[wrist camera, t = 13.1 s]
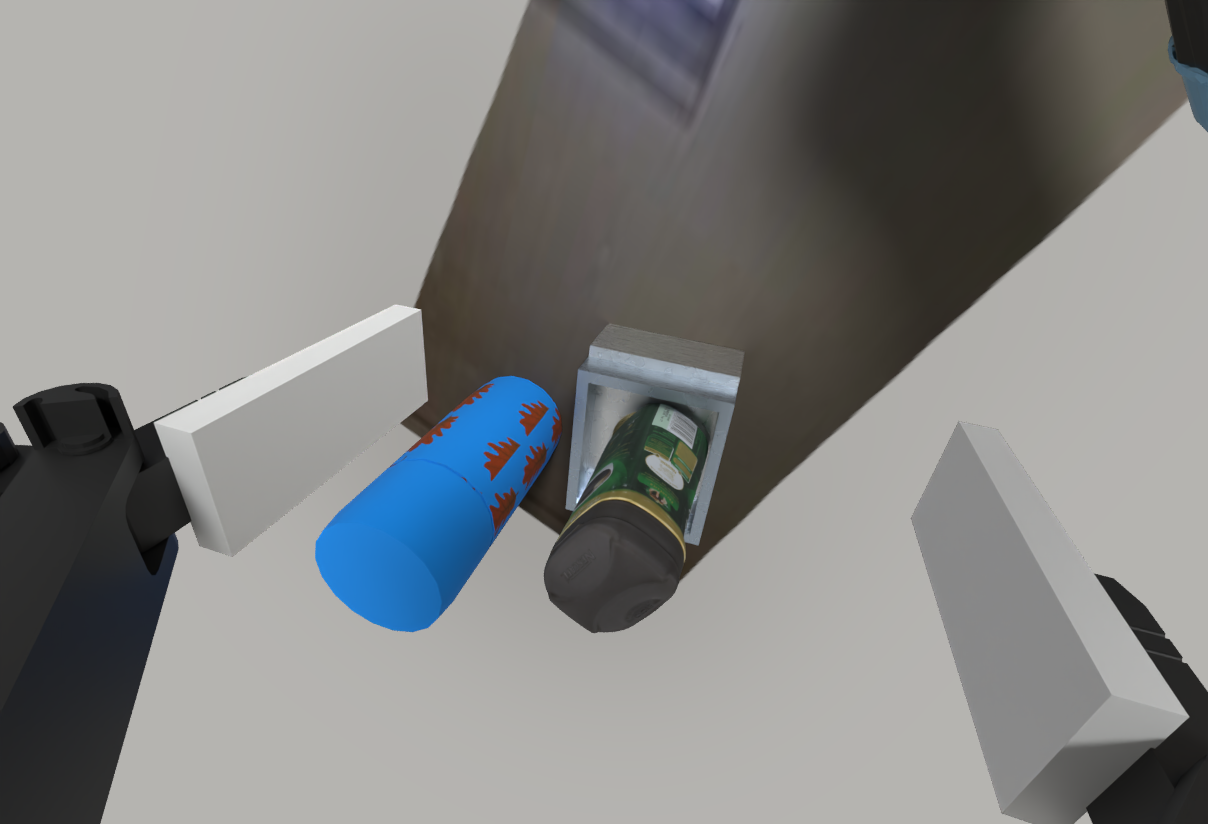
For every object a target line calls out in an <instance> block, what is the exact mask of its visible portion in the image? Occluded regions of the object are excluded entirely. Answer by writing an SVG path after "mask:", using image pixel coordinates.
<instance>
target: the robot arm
mask: <svg viewBox="0 0 1208 824" xmlns="http://www.w3.org/2000/svg"><path fill="white" fill-rule="evenodd" d="M1165 5H1166V9H1167V14H1168V18H1169V23H1170V27H1171V32H1172V36H1171V38H1170V40H1169V45H1168V53H1169V59H1170V61H1171V63H1173V64H1174V66H1175V69H1176V71H1177V72H1178V73H1180V74H1181V75H1182V78H1183V82H1184V85H1185V89H1186V92H1187V96H1188V99H1189V102H1190V106H1191V109H1192V112H1193V115H1194V117H1195V119H1196V121H1197V122H1198V123H1200V125H1202V127H1203V128H1204V129H1205V130H1206V131H1207V132H1208V0H1165ZM427 401H428V396H427V382H426V369H425V356H424V342H423V329H422V316H421V310H420V309H415V308H410V307H406V306H401V305H393V306H391V307H389V308H387V309H385V310H383V311H381V312H379V313H377V314H375V315H373V316H371V317H369V318H367V319H365V320H363V321H361V322H359V323H357V324H354V325H352V326H350V327H348V328H346V329H344V330H343V331H340V332H338V333H336V334H334V335H332V336H330V337H328V338H326V339H324V340H322V341H320V342H318V343H316V344H314V345H312V346H309V347H308V348H305V349H303V350H301V351H299V352H297V353H295V354H293V355H291V356H289V357H287V358H285V359H283V360H281V361H279V362H277V363H275V364H273V365H271V366H269V367H266V368H264V369H262V370H260V371H258V372H256V373H254V374H252V375H250V376H248V377H244V378H241V379H239V380H237V381H234V382H233V383H230V384H228V385H226V386H224V387H222V388H220V389H219V391H217V392H216V391H214V392H212V393H210V394H208V395H206V396H204V397H202V398H201V400H199V401H198V400H195V401H193V402H191V403H189V404H187V405H185V406H183V407H181V408H179V409H177V410H175V411H173V412H171V413H169V414H167V415H165V416H162V417H160V418H158V419H156V420H154V421H152V422H150V423H148V424H146V425H144V426H142V427H140V428H138V429H136V430H134V429H133V426H132V424H131V421H130V419H129V416H128V414H127V411H126V409H125V406H124V404H123V401H122V399H121V396H120V393H119V391H118V390H117V389H115V388H114V387H113V386H111V385H106V384H101V383H79V384H72V385H65V386H59V387H55V388H52V389H48V390H44V391H41V392H38V393H36V394H34V395H31V396H29V397H26V398H24V399H22V400H21V401H20V402H18V403H17V404H15V405H14V406H13V409H14V410H15V413H16V415H17V417H18V418H19V420H20V422H21V424H22V426H23V428H24V430H25V432H26V434H27V436H28V438H29V440H30V442H31V444H32V446H28V445H15V444H14V443H13V441H12V439H11V437H10V435H9V433H8V431H7V429H6V428H5V426H4V424H3V423H1V422H0V824H100V823H101V819H102V816H103V812H104V809H105V805H106V801H107V798H108V795H109V791H110V788H111V784H112V781H113V777H114V774H115V770H116V767H117V763H118V760H119V755H120V753H121V749H122V746H123V742H124V738H125V735H126V731H127V728H128V724H129V721H130V717H131V714H132V710H133V707H134V703H135V700H136V696H137V693H138V689H139V686H140V682H141V679H142V675H143V672H144V668H145V665H146V661H147V658H148V654H149V651H150V647H151V644H152V640H153V636H154V633H155V630H156V626H157V623H158V619H159V616H160V612H161V609H162V605H163V602H164V598H165V595H166V591H167V588H168V584H169V580H170V577H171V574H172V570H173V567H174V563H175V560H176V556H177V553H178V540H177V537H176V535H175V532H176V531H178V530H179V529H180V528H182V527H183V526H185V525H186V524H188V523H189V522H191V524H192V527H193V530H194V532H195V535H196V538H197V540H198V543H199V546H202V547H204V548H208V549H210V550H213V551H216V552H219V553H222V554H225V555H228V556H231V557H233V556H234V555H236V554H237V553H238V552H239V551H241V550H242V549H243V548H244V547H245V546H247V545H248V544H249V543H250V542H252V541H253V540H254V539H255V538H257V537H258V536H259V535H260V534H262V533H263V532H264V531H265V530H267V529H268V528H269V527H270V526H272V525H273V524H274V523H275V522H277V521H278V520H279V519H280V518H282V517H283V516H284V515H285V514H287V513H288V512H289V511H290V510H291V509H293V508H294V507H295V506H297V505H298V504H299V503H300V502H302V501H303V500H304V499H305V498H307V497H308V496H309V495H310V494H312V493H313V492H314V491H315V490H317V489H318V488H319V487H320V486H322V485H323V484H324V483H325V482H327V481H328V480H329V479H330V478H332V477H333V476H334V475H335V474H337V473H338V472H339V471H340V470H342V469H343V468H344V467H345V466H346V465H348V464H349V463H350V462H352V461H353V460H354V459H355V458H356V457H358V456H359V455H360V454H362V453H363V452H364V451H365V450H367V449H368V448H369V447H370V446H371V445H373V444H374V443H375V442H377V441H378V440H379V439H380V438H382V437H383V436H384V435H385V434H387V433H388V432H389V431H390V430H392V429H393V428H394V427H395V426H396V425H398V424H399V423H400V422H402V421H403V420H404V419H405V418H407V417H408V416H409V415H410V414H412V413H413V412H414V411H415V410H417V409H418V408H419V407H420V406H422V405H423V404H424V403H425V402H427ZM911 519H912V523H913V526H914V529H915V533H916V536H917V539H918V543H919V546H920V549H921V552H922V556H923V558H924V562H925V565H926V569H927V572H928V575H929V578H930V582H931V585H932V588H933V591H934V594H935V598H936V601H937V604H938V607H939V611H940V614H941V617H942V620H943V624H944V627H945V630H946V633H947V637H948V640H949V643H950V647H951V650H952V653H953V656H954V660H955V663H956V666H957V670H958V673H959V676H960V679H961V683H962V686H963V689H964V693H965V696H966V699H967V702H968V705H969V709H970V712H971V715H972V718H973V722H974V725H975V728H976V732H977V735H978V738H979V741H980V745H981V748H982V751H983V754H984V758H985V761H986V764H987V767H988V770H989V774H990V777H991V781H992V784H993V787H994V790H995V794H996V797H997V800H998V803H999V807H1000V810H1001V813H1002V814H1006V815H1008V816H1011V817H1014V818H1017V819H1020V820H1023V821H1026V822H1029V823H1032V824H1074V823H1075V822H1076V821H1077V820H1078V819H1079V818H1080V817H1081V816H1082V815H1084V814H1085V813H1086V812H1087V811H1088V814H1089V816H1090V818H1091V821H1092V823H1093V824H1208V692H1207V690H1206V689H1205V688H1204V686H1203V685H1202V683H1201V682H1200V681H1199V679H1198V678H1197V677H1196V675H1195V674H1194V672H1193V671H1192V670H1191V668H1190V667H1189V666H1188V664H1187V663H1183V662H1182V656H1181V655H1180V653H1179V652H1178V650H1177V649H1176V648H1175V646H1174V645H1173V643H1172V642H1171V641H1170V639H1166V638H1165V633H1164V631H1163V630H1162V628H1161V627H1160V626H1159V624H1158V623H1157V621H1156V620H1155V619H1154V617H1153V616H1152V615H1151V613H1150V612H1149V610H1148V609H1147V608H1146V606H1145V605H1144V604H1143V603H1141V602H1140V601H1139V600H1138V599H1137V598H1136V597H1134V596H1133V595H1132V594H1131V593H1130V592H1129V591H1127V590H1126V589H1125V588H1124V587H1123V586H1121V584H1119V583H1118V582H1117V581H1116V580H1115V579H1113V578H1109V577H1106V576H1102V575H1098V574H1094V573H1093V572H1092V570H1091V569H1090V567H1089V566H1088V564H1087V563H1086V561H1085V560H1084V558H1083V557H1082V555H1081V554H1080V552H1079V551H1078V549H1077V548H1076V546H1075V545H1074V543H1073V542H1072V540H1071V539H1070V537H1069V536H1068V534H1067V533H1066V531H1065V530H1064V528H1063V527H1062V525H1061V524H1060V522H1059V521H1058V519H1057V518H1056V516H1055V515H1054V513H1053V512H1052V510H1051V509H1050V507H1049V506H1048V504H1047V503H1046V501H1045V500H1044V498H1043V497H1042V495H1041V494H1040V492H1039V491H1038V489H1037V488H1036V486H1035V485H1034V483H1033V482H1032V480H1031V479H1030V477H1029V476H1028V474H1027V473H1026V471H1025V470H1024V468H1023V467H1022V465H1021V464H1020V462H1019V461H1018V459H1017V458H1016V456H1015V455H1014V453H1013V452H1012V450H1011V449H1010V447H1009V446H1008V444H1007V443H1006V441H1005V440H1004V438H1003V437H1002V435H1001V434H1000V432H999V431H998V430H997V429H994V428H989V427H984V426H980V425H975V424H970V423H965V422H960V421H959V422H958V424H957V426H956V428H955V430H954V432H953V434H952V436H951V438H950V440H949V442H948V444H947V446H946V448H945V450H944V453H943V454H942V456H941V458H940V460H939V463H938V465H937V467H936V469H935V471H934V473H933V475H932V477H931V479H930V481H929V483H928V485H927V487H926V489H925V491H924V493H923V495H922V497H921V499H920V501H919V503H918V505H917V507H916V509H915V511H914V513H913V515H912V517H911Z"/></svg>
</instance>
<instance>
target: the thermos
mask: <svg viewBox="0 0 1208 824" xmlns="http://www.w3.org/2000/svg"><path fill="white" fill-rule="evenodd" d="M561 433H562V423H561V415H560V413H559V411H558V409H557V407H556V404H555V402H554V401H553V400H552V399H551V397H550V396H549V395H548V394H547V393H546V392H545V391H544V390H543V389H542V388H541V387H539V386H537V385H536V384H534V383H532V382H531V381H529V380H527V379H523V378H519V377H515V376H506V377H497V378H495V379H494V380H492V381H490V382H488V383H486V384H485V385H483V386H482V387H481V388H479V389H478V390H477V391H475V392H474V393H473V394H471V395H470V396H469V397H467V398H466V399H465V400H464V401H463V402H462V403H461V404H459V405H458V406H457V407H456V408H455V409H454V410H453V411H452V412H450V413H449V414H448V415H447V416H446V417H445V418H444V419H443V420H441V421H440V422H439V423H438V424H437V425H436V426H435V427H434V428H433V429H431V430H430V431H429V432H428V433H427V434H426V435H425V436H424V437H422V438H421V439H420V440H419V441H418V442H417V443H416V444H415V445H413V446H412V447H411V448H410V449H409V450H408V451H407V452H406V453H404V454H403V455H402V456H401V457H400V458H399V459H398V460H397V461H396V462H395V463H393V464H392V465H391V466H390V467H389V468H388V469H387V470H386V471H384V472H383V473H382V474H381V475H380V476H379V477H378V478H377V479H375V480H374V481H373V482H372V483H371V484H370V485H369V486H368V487H366V488H365V489H364V490H363V491H362V492H361V493H360V494H359V495H357V496H356V497H355V498H354V499H353V500H352V501H351V502H350V503H348V504H347V505H346V506H345V507H344V508H343V509H342V510H341V511H339V513H338V514H337V515H336V516H335V517H334V518H333V519H332V521H331V522H330V523H329V524H328V525H327V526H326V528H325V529H324V530H323V532H322V533H321V535H320V536H319V538H318V540H317V541H316V551H315V558H316V562H317V565H318V567H319V570H320V572H321V575H322V577H323V579H324V580H325V582H326V583H327V584H328V586H329V587H330V589H331V590H332V591H333V593H334V594H335V595H336V596H337V597H338V598H339V599H340V600H341V601H342V602H344V604H346V605H347V606H348V607H349V608H350V609H351V610H352V611H354V612H355V613H357V614H359V615H360V616H362V617H364V618H365V619H367V620H368V621H370V622H372V623H374V624H377V625H380V626H382V627H385V628H388V629H391V630H397V631H406V632H414V631H418V630H421V629H425V628H428V627H429V626H430V625H431V624H432V623H433V622H434V621H436V619H438V618H439V616H440V615H441V614H442V613H443V612H444V611H445V609H447V608H448V606H449V605H450V604H451V603H452V602H453V601H454V599H455V598H456V596H457V595H458V593H459V592H460V590H461V589H462V587H463V586H464V584H465V583H466V582H467V580H468V579H469V577H470V575H471V574H472V573H473V571H474V570H475V568H476V567H477V565H478V564H479V563H480V561H481V560H482V558H483V557H484V555H485V554H486V552H487V551H488V549H489V547H490V546H491V545H492V543H493V542H494V540H495V539H496V538H497V536H498V534H499V533H500V532H501V530H502V529H503V527H504V526H505V524H506V522H507V521H508V520H509V518H510V517H511V515H512V514H513V513H514V511H515V510H516V508H517V507H518V505H519V504H520V502H521V501H522V499H523V498H524V496H525V495H526V493H527V492H528V490H529V489H530V487H531V486H532V485H533V483H534V482H535V480H536V479H537V477H538V476H539V474H540V473H541V471H542V470H543V468H544V467H545V465H546V464H547V462H548V461H549V459H550V457H551V455H552V453H553V452H554V450H555V448H556V446H557V445H558V442H559V439H560V436H561Z"/></svg>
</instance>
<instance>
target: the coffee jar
mask: <svg viewBox="0 0 1208 824" xmlns="http://www.w3.org/2000/svg"><path fill="white" fill-rule="evenodd" d="M707 454H708V442H707V439H706V437H705V435H704V433H703V432H702V431H701V429H700V428H699V427H698V426H697V425H696V424H695V423H694V422H693V421H692V420H691V419H690V418H689V417H687V416H686V415H685V414H683V413H682V412H680V411H679V410H677V409H675V408H673V407H671V406H669V405H666V404H661V403H654V404H649V405H646V406H644V407H642V408H641V409H640V410H638V411H637V412H635V413H634V414H633V415H632V416H631V417H630V418H628V420H627V421H625V422H624V424H623V425H622V426H621V427H620V428H619V429H618V430H617V431H616V432H615V434H614V435H613V436H612V438H611V439H610V441H609V442H608V444H607V445H606V447H605V449H604V451H603V453H602V455H601V457H600V459H599V461H598V463H597V466H596V468H595V470H594V472H593V474H592V476H591V478H590V480H589V482H588V484H587V486H586V488H585V490H584V492H583V494H582V496H581V498H580V500H579V502H578V503H577V505H576V507H575V509H574V511H573V513H572V515H571V516H570V518H569V520H568V522H567V523H566V525H565V527H564V529H563V531H562V532H561V534H560V536H559V538H558V539H557V541H556V543H555V545H554V547H553V549H552V551H551V553H550V556H549V558H548V561H547V563H546V566H545V570H544V582H545V586H546V590H547V592H548V595H549V599H550V601H551V602H552V603H553V604H554V605H556V606H557V607H558V608H559V609H560V610H561V611H562V612H564V613H565V614H566V615H568V616H569V617H570V618H571V619H573V620H574V621H575V622H577V623H578V624H580V625H581V626H583V627H584V628H585V629H587V630H589V631H590V632H592V633H597V632H615V631H620V630H624V629H627V628H629V627H631V626H633V625H635V624H636V623H638V622H639V621H641V620H642V619H644V618H646V617H647V616H648V615H650V614H651V613H653V612H654V611H655V610H657V609H658V608H659V607H660V606H662V605H663V604H664V603H665V602H666V601H667V600H669V599H670V598H671V597H672V596H673V594H674V593H675V591H676V589H677V586H678V583H679V577H680V574H681V571H682V567H683V564H684V561H685V555H686V547H685V541H684V534H685V530H686V526H687V522H688V519H689V515H690V511H691V508H692V504H693V500H694V497H695V494H696V490H697V487H698V484H699V481H700V478H701V475H702V472H703V469H704V465H705V462H706V458H707Z"/></svg>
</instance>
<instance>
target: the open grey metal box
mask: <svg viewBox="0 0 1208 824" xmlns="http://www.w3.org/2000/svg"><path fill="white" fill-rule="evenodd" d="M744 352H745V351H741V350H737V349H732V348H727V347H722V346H717V345H712V344H707V343H702V342H697V341H693V340H688V339H683V338H678V337H673V336H668V335H663V334H658V333H653V332H649V331H644V330H639V329H634V328H629V327H624V326H619V325H614V324H608V325H607V326H606V327H605V328H604V330H603V331H602V332H601V333H600V334H599V335H598V337H597V338H596V339H595V340H594V341H593V343H592V344H591V345H590V351H589V357H588V358H587V359H586V360H585V362H584V363H583V364H582V365H581V367H580V368H579V369H578V377H577V388H576V399H575V410H574V421H573V433H572V444H571V455H570V466H569V477H568V488H567V499H566V509H568V510H572V511H574V509H575V507H576V505H577V503H578V502H579V500H580V498H581V496H582V494H583V492H584V490H585V488H586V486H587V484H588V482H589V480H590V478H591V476H592V474H593V472H594V470H595V468H596V466H597V463H598V461H599V459H600V457H601V455H602V453H603V451H604V449H605V447H606V445H607V444H608V442H609V441H610V439H611V438H612V436H613V435H614V434H615V432H616V431H617V430H618V429H619V428H620V427H621V426H622V425H623V424H624V422H625V421H627V420H628V418H630V417H631V416H632V415H633V414H634V413H635V412H637V411H638V410H640V409H641V408H642V407H644V406H646V405H649V404H654V403H661V404H666V405H669V406H671V407H673V408H675V409H677V410H679V411H680V412H682V413H683V414H685V415H686V416H687V417H689V418H690V419H691V420H692V421H693V422H694V423H695V424H696V425H697V426H698V427H699V428H700V429H701V431H702V432H703V433H704V435H705V437H706V439H707V442H708V454H707V458H706V462H705V465H704V469H703V472H702V475H701V478H700V481H699V484H698V487H697V490H696V494H695V497H694V500H693V504H692V508H691V511H690V515H689V519H688V522H687V526H686V530H685V534H684V541H685V542H688V543H691V544H695V545H699V542H700V538H701V534H702V530H703V526H704V522H705V518H706V514H707V511H708V507H709V503H710V499H711V495H712V491H713V487H714V483H715V480H716V476H717V472H718V468H719V464H720V460H721V456H722V452H723V449H724V445H725V441H726V437H727V433H728V429H729V425H730V421H731V418H732V414H733V410H734V406H735V401H736V395H737V389H738V385H739V381H740V377H741V370H742V364H743V358H744Z"/></svg>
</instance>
